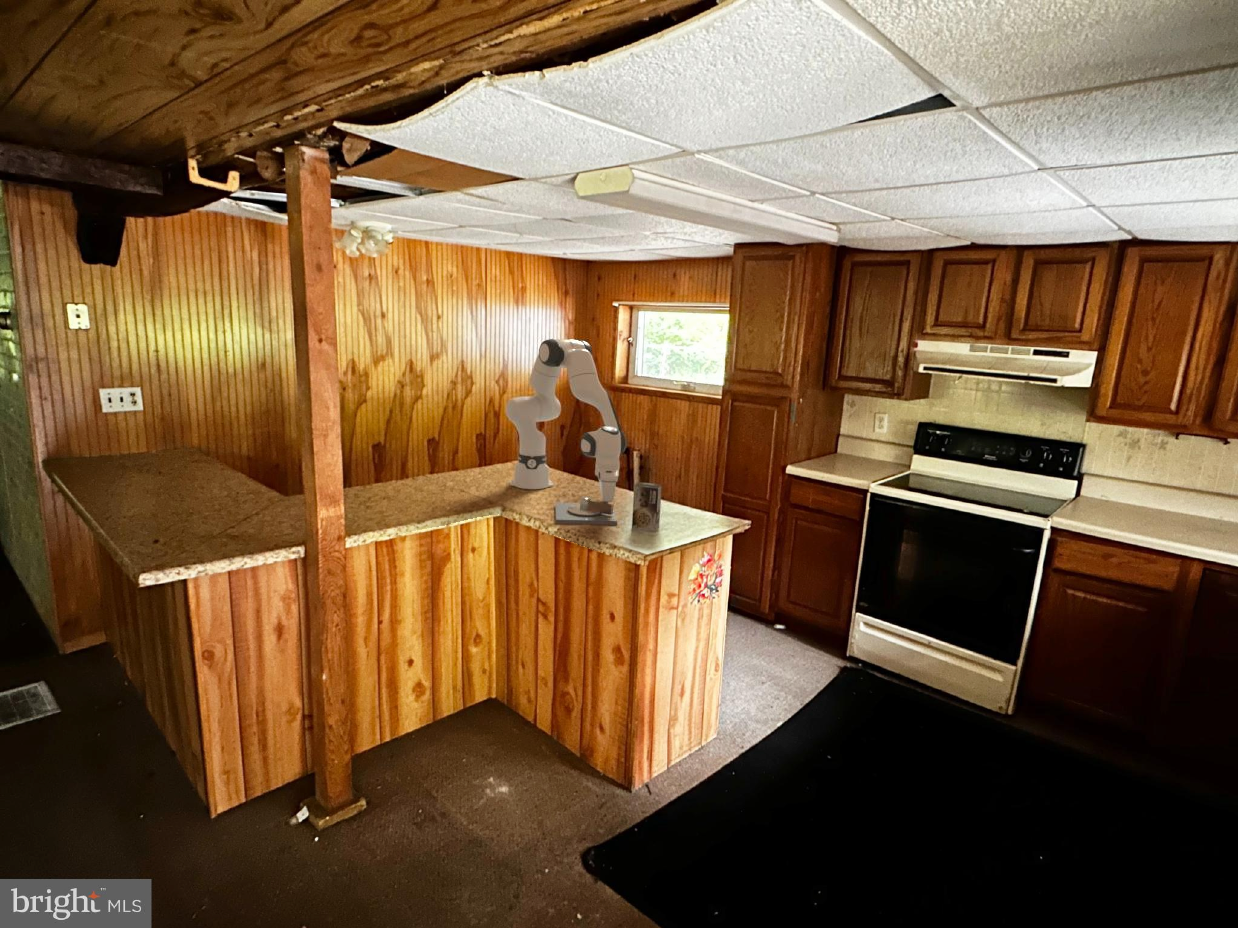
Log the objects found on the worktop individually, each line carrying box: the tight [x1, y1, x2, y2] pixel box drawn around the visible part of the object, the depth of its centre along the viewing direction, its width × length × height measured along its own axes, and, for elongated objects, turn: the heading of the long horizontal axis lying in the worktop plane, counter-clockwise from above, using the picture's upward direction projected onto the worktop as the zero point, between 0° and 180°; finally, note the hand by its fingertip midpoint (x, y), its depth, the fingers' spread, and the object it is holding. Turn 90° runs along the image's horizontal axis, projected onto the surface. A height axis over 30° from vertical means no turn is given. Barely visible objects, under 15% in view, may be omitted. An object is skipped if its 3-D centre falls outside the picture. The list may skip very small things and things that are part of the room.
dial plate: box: [554, 502, 618, 526], centre depth 246 cm, size 22×22×2 cm
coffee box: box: [631, 481, 663, 533], centre depth 233 cm, size 9×6×16 cm
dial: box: [568, 496, 615, 516], centre depth 245 cm, size 18×13×5 cm
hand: (604, 506), depth 245 cm, fingers closed, pressing on dial
